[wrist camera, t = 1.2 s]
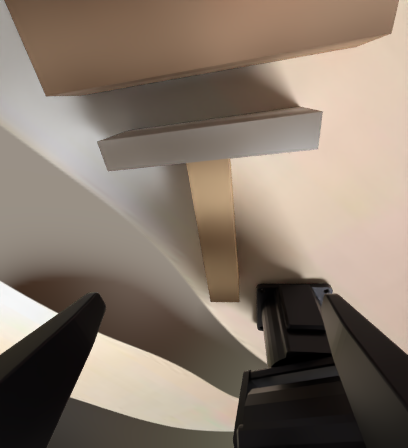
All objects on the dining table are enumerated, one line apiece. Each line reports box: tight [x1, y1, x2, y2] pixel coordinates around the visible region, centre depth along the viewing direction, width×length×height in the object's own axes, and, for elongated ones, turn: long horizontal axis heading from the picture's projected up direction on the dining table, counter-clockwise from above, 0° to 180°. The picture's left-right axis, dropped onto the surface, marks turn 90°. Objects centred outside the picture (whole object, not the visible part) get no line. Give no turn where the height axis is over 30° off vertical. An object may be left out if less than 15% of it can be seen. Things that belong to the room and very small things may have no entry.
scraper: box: [97, 107, 323, 302], centre depth 16 cm, size 14×11×4 cm
